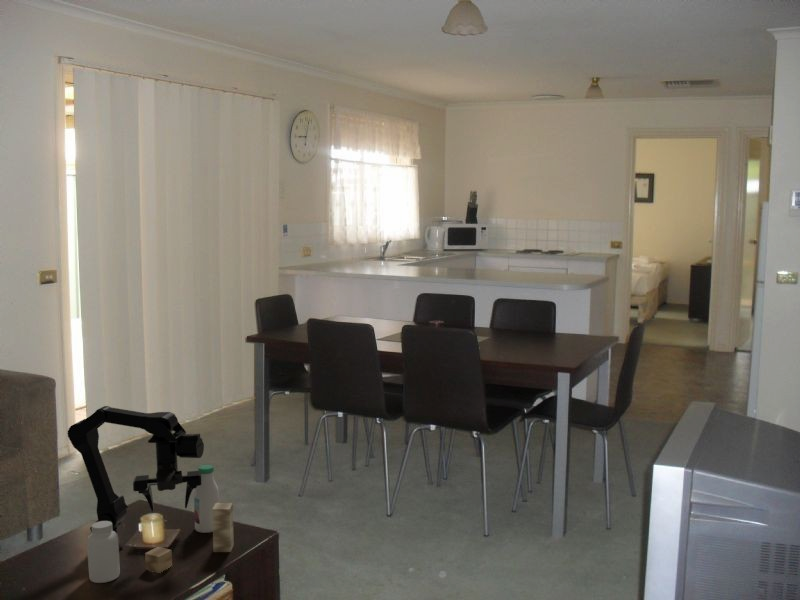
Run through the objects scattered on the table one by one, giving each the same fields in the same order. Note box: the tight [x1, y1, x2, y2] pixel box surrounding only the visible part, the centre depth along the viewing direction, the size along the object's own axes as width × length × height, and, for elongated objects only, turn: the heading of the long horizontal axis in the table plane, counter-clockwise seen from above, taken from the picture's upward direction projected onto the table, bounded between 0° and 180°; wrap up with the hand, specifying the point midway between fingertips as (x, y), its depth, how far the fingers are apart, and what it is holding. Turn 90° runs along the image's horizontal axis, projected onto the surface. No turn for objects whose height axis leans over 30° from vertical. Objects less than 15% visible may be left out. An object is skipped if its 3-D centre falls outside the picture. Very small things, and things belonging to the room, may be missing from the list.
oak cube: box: [144, 546, 173, 574], centre depth 224 cm, size 5×5×5 cm
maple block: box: [212, 502, 235, 553], centre depth 236 cm, size 5×5×13 cm
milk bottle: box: [193, 464, 221, 534], centre depth 250 cm, size 8×8×20 cm
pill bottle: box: [86, 521, 121, 584], centre depth 218 cm, size 8×8×15 cm
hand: (169, 509), depth 232 cm, fingers open, 9 cm apart
